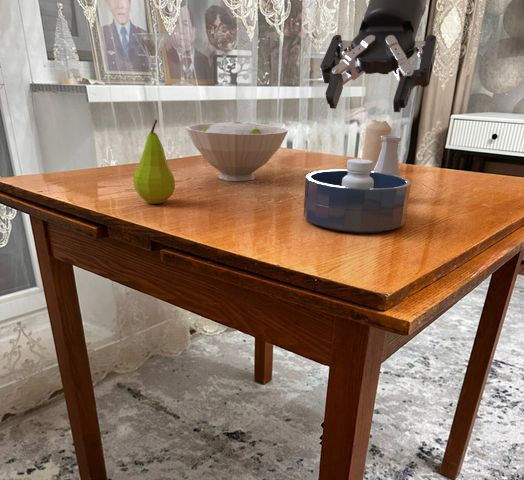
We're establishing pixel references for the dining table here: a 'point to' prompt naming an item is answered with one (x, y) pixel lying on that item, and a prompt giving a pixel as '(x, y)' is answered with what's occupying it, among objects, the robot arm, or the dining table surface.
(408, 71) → the robot arm
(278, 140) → the bowl
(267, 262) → the dining table surface
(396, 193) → the blue dish
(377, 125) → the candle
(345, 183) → the pill bottle
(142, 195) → the fruit
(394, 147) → the flask
